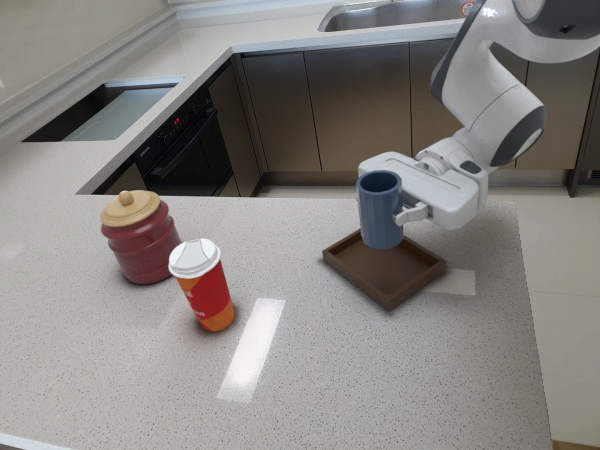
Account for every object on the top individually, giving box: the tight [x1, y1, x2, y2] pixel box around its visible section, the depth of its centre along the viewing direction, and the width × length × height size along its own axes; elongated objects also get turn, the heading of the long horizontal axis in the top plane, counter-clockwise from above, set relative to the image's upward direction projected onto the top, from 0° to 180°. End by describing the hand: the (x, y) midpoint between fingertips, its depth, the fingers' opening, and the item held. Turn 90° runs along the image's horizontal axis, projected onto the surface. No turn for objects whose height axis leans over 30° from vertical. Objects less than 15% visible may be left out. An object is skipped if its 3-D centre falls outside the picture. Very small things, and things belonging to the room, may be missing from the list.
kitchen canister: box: [99, 189, 184, 285], centre depth 89 cm, size 13×13×18 cm
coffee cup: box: [169, 237, 235, 333], centre depth 75 cm, size 8×8×15 cm
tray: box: [321, 227, 448, 313], centre depth 83 cm, size 18×14×2 cm
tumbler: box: [355, 170, 405, 249], centre depth 69 cm, size 6×6×10 cm
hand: (376, 209), depth 68 cm, fingers closed on tumbler, 6 cm apart
